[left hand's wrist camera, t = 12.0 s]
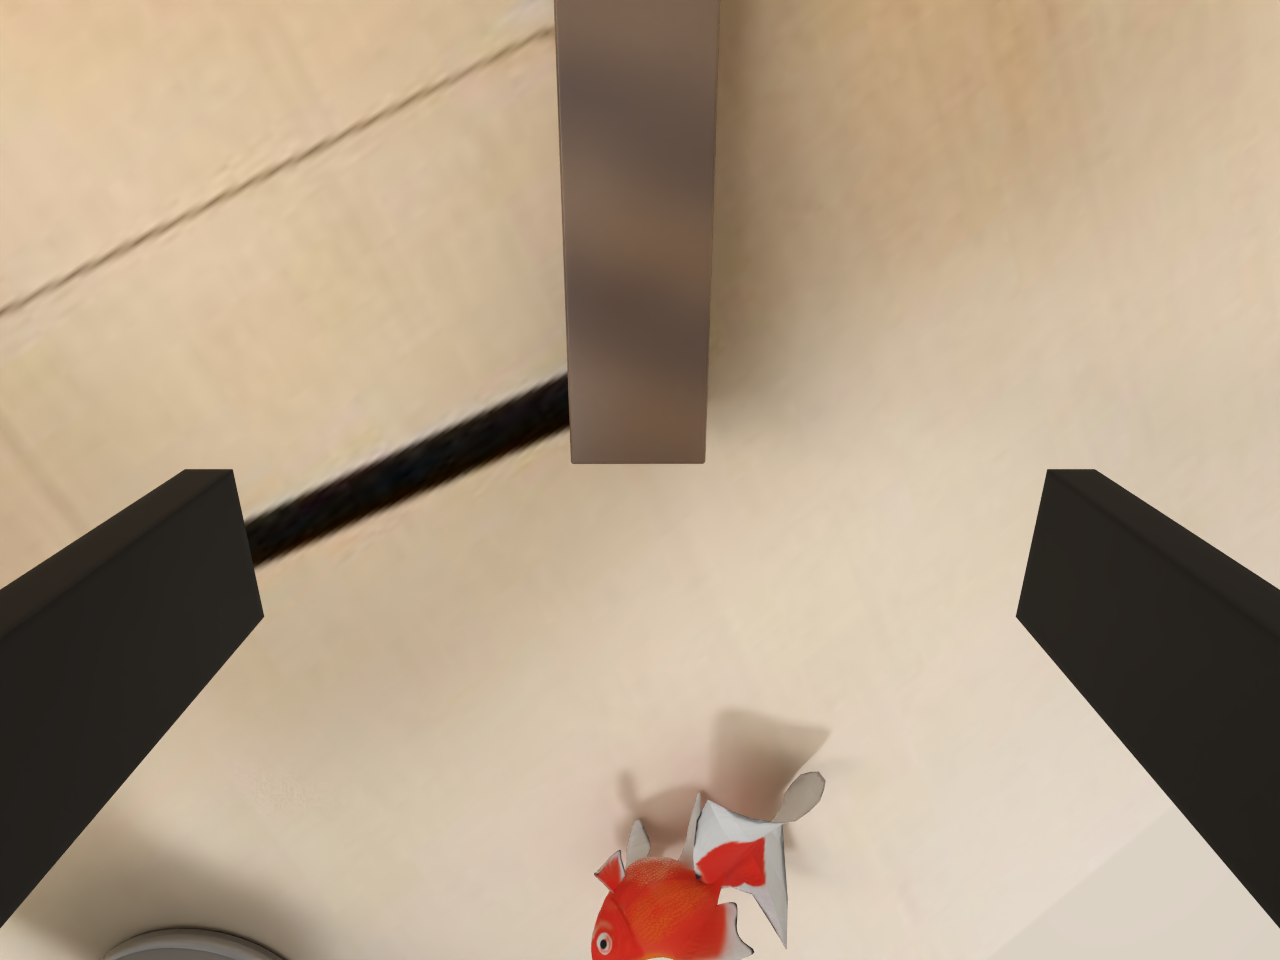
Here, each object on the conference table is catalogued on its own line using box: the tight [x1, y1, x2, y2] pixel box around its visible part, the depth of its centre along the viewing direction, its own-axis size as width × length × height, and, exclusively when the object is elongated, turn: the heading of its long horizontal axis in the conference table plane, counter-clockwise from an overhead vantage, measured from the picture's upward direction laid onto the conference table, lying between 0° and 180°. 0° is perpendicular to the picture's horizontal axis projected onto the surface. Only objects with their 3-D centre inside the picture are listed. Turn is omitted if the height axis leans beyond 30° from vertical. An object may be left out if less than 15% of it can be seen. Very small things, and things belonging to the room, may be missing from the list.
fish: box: [591, 772, 825, 960], centre depth 42 cm, size 11×16×10 cm
